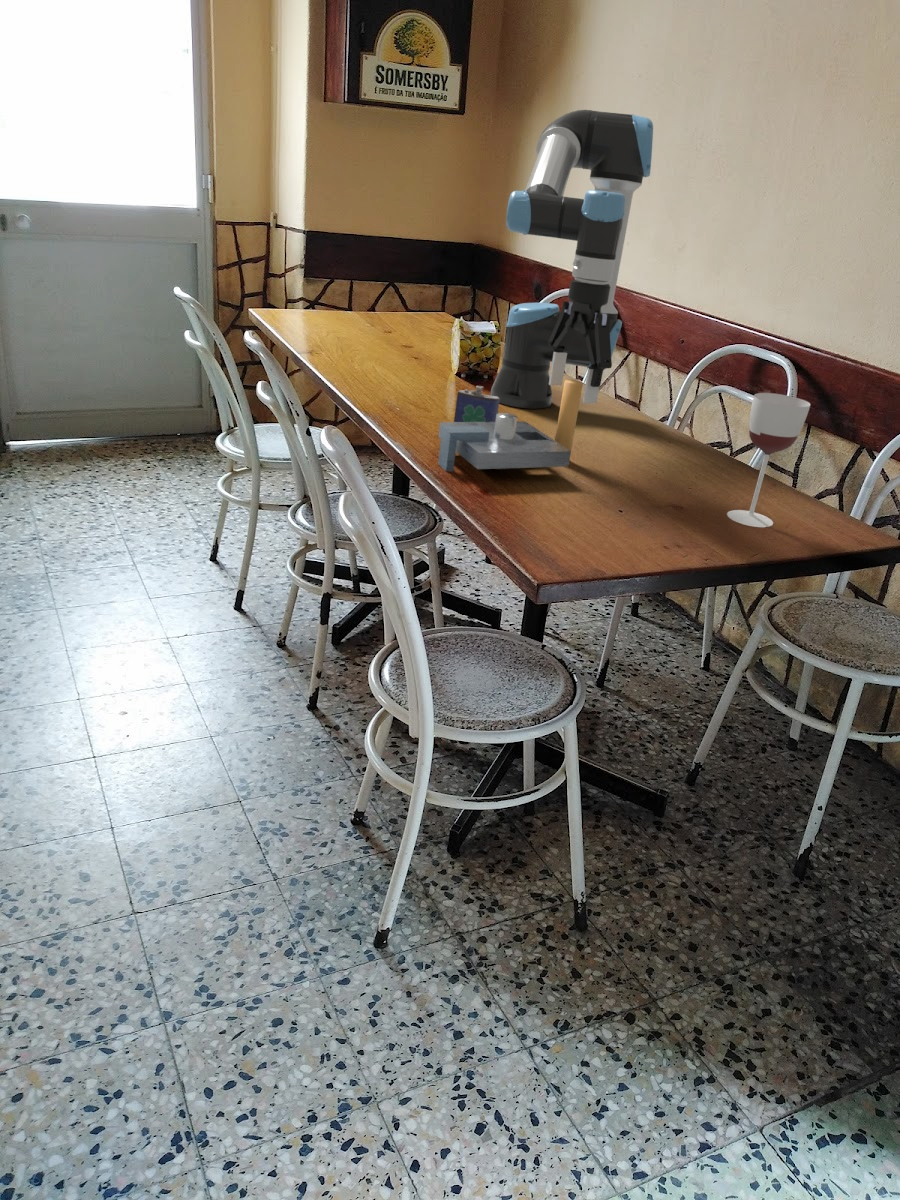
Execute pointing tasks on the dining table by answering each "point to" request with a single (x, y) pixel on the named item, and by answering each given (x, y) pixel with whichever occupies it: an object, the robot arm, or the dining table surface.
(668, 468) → the dining table surface
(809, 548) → the dining table surface
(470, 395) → the flask
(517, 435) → the grey plate
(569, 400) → the light orange cylinder
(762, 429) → the wineglass
